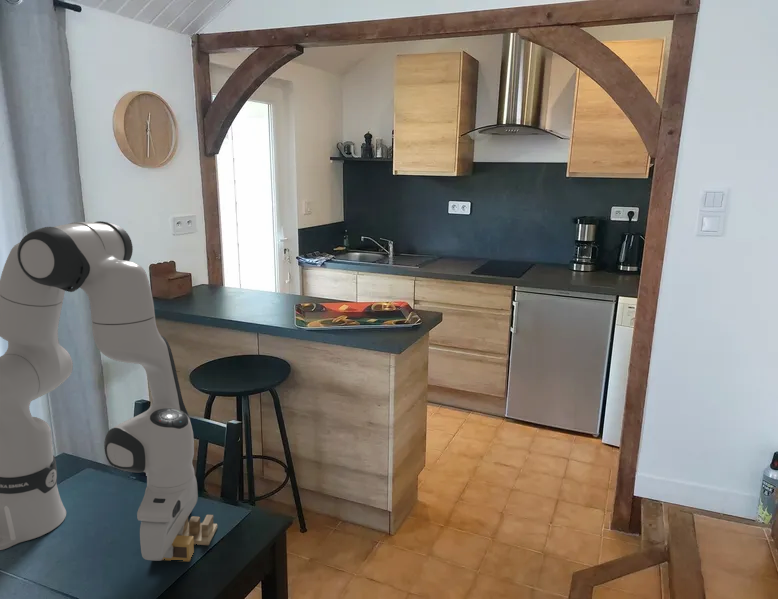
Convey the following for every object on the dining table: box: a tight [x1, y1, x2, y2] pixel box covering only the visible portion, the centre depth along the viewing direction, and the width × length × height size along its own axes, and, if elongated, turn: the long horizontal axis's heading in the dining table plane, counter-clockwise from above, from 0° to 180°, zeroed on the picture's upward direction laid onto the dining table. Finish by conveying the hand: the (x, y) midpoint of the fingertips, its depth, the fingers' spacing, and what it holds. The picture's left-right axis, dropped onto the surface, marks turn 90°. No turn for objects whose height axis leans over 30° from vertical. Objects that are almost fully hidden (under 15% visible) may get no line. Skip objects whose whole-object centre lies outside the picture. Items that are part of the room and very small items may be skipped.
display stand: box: [183, 514, 218, 546], centre depth 119 cm, size 8×6×4 cm
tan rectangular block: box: [161, 535, 195, 562], centre depth 113 cm, size 8×3×4 cm, turn 90°
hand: (173, 548), depth 113 cm, fingers closed on tan rectangular block, 3 cm apart
